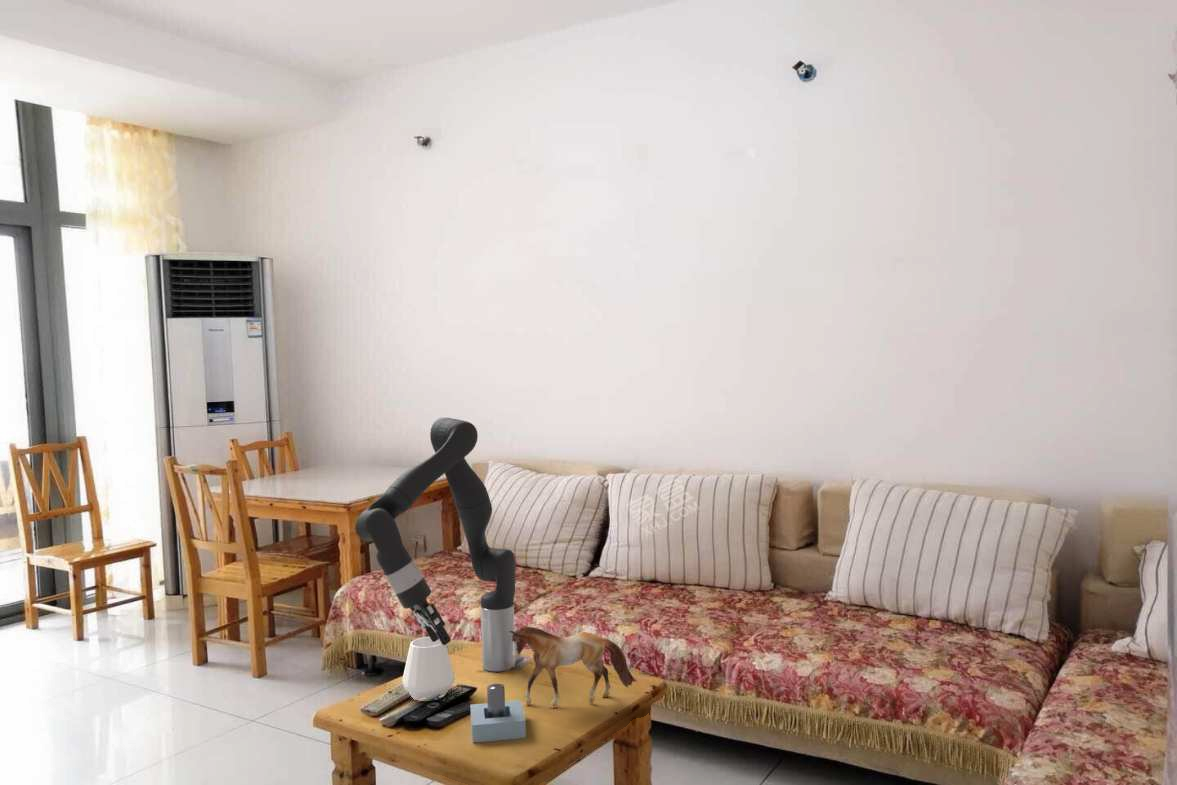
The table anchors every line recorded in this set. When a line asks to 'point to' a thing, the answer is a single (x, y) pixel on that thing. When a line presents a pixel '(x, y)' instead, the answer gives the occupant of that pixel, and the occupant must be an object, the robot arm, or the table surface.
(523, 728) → the socket block
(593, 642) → the horse figurine
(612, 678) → the table surface
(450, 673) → the white tapered hollow vessel
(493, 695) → the pin
